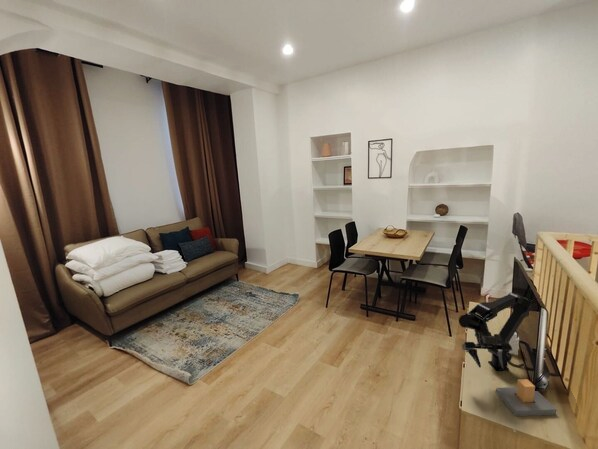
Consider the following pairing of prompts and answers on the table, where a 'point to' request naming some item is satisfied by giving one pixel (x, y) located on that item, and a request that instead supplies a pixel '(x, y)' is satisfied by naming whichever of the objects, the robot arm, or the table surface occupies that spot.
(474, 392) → the table surface
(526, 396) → the orange bar
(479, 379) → the table surface
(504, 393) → the jig plate
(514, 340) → the medicine bottle
